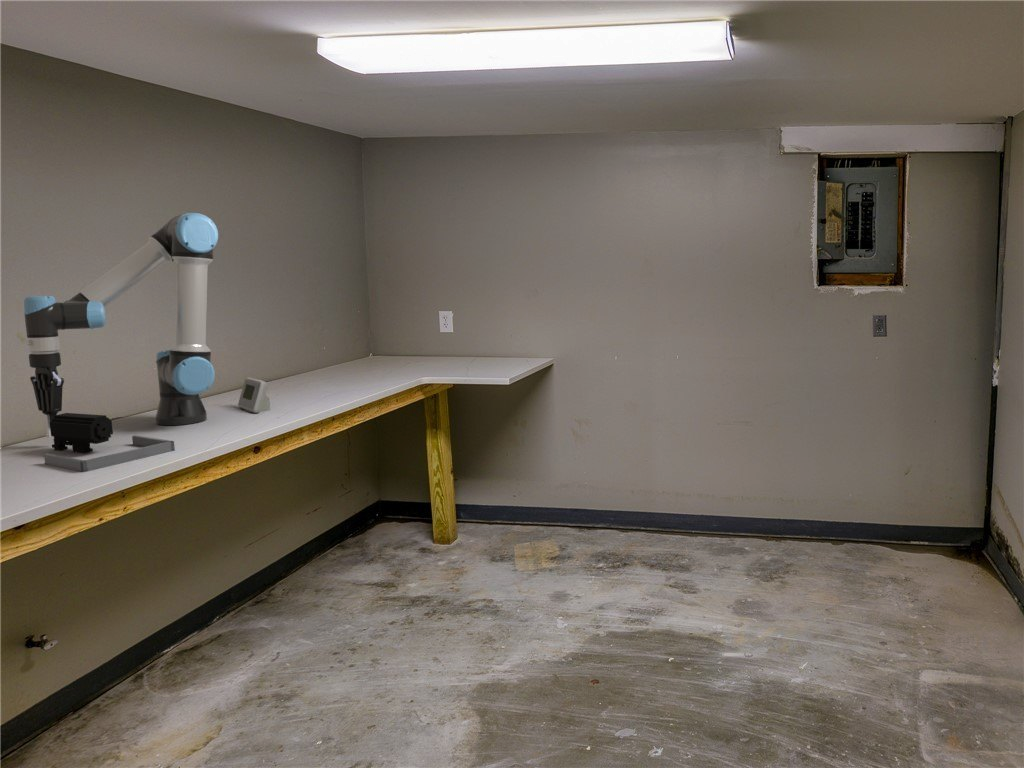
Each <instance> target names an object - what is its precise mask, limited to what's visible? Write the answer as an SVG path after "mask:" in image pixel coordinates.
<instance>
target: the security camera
mask: <svg viewBox="0 0 1024 768" xmlns="http://www.w3.org/2000/svg"><path fill="white" fill-rule="evenodd" d="M112 421H113V420H112V419H110V417H107V415H105V414H104V415H103V414H92V413H90V414H89V413H72V412H65V413H60V414H59V413H58V414H57V415H54V418H53V419H52V422H50V431H51V436H54V437H53V443H52V444H51V447H52V449H54V451H55V452H62V451H65V450H68V448H69V446H71V447H72V453H77V454H78V453H80V454H88V453H91V452H94V451H93V450H94V449H93V448H92V447H91V444H102V443H105V442H109V440H110V438H112V435H113V434H114V431H113V422H112Z"/></svg>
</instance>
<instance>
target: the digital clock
mask: <svg viewBox="0 0 1024 768" xmlns="http://www.w3.org/2000/svg"><path fill="white" fill-rule="evenodd" d="M268 387H269V384H268V383H267V382H266V381H264V380H262V379H258V378H256V377H255V378H254V377H249V376H248V377H246V378H245V379H244V382H243V384H242V388H241V391H240V396H239V399H238V402H237V403H238V404H237V405H238V407H239V408H240V409H242V410H243V411H246V412H250V413H254V414H259V413H260V412H268V411H271V400H270V397H269V396H267V395H266V393H267V390H268Z"/></svg>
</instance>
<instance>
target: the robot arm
mask: <svg viewBox="0 0 1024 768" xmlns="http://www.w3.org/2000/svg"><path fill="white" fill-rule="evenodd" d="M218 239H219V231H218V228H217V226H216V224H215V222H214V221H213V220H212V219H211V218H210V217H209V216H207V215H205V214H202V213H197V212H187V213H184V214H181V215H176V216H174V217H172V218H171V219H170V220H169V221H167V222H166V223H165V224H164V225H163V226H162V227H161V228H159V229H158V230H157V231H156V232H154V233H153V234H152V235H150V236H149V237H148V242H147V243H146V244H144V245H143V246H142V247H140V248H139V249H138V250H136V251H135V252H133V253H131V255H129V256H127V257H126V258H125V259H123V260H122V261H121V262H120V263H118V264H116V266H114V267H113V268H111V269H110V270H109V271H107V272H106V273H105V274H103V275H102V276H100V277H99V278H97V279H96V280H95V281H93V282H91V283H90V284H89V285H88V286H86V287H85V288H84V289H82V290H81V291H79V292H78V293H77V294H75V295H74V296H72V297H71V298H69V299H68V300H64V301H63V302H57V301H56V298H55V296H54V295H31V296H26V297H25V298H24V299H23V310H24V311H23V315H24V322H25V330H26V331H25V332H26V340H27V341H26V345H27V349H28V352H29V355H28V361H29V367H30V368H32V369H33V368H34V375H33V376H30V379H29V380H30V382H31V384H32V388H33V391H34V396H35V400H36V405H37V409H38V411H39V412H41V413H42V414H43V418H44V419H43V420H44V427H45V428H44V429H45V437H46V438H48V439H49V438H54V436H51V431H50V422H52V419H53V418H54V415H58V414H59V412H62V410H63V408H62V407H63V385H64V383H65V379H64V378H63V377H59V372H58V369H57V367H60V366H61V365H62V361H61V360H62V359H61V352H60V348H61V347H60V337H59V331H60V330H61V331H62V330H84V329H91V330H93V329H99V328H103V327H104V326H105V325H106V310H105V308H106V307H107V306H109V305H110V304H111V303H113V302H114V301H115V300H117V299H118V298H119V297H121V296H122V295H124V294H125V293H127V292H128V291H129V290H131V289H132V288H133V287H135V286H136V285H137V284H138V283H140V282H141V281H143V280H144V279H145V278H146V277H148V276H149V275H151V274H152V273H153V272H155V271H156V270H157V269H159V268H160V267H162V265H164V264H166V263H169V264H170V263H173V262H175V264H176V294H175V296H176V297H175V337H174V338H175V340H174V344H173V345H172V346H171V348H169V349H167V350H161V351H158V352H157V353H156V360H155V363H156V369H157V380H158V391H159V401H158V406H157V410H156V414H155V423H156V424H157V425H159V426H160V425H161V426H181V425H182V426H183V425H184V426H185V425H191V424H196V423H201V422H203V421H206V420H207V419H208V418H207V416H208V415H207V411H206V408H205V406H204V404H203V401H202V399H201V396H200V394H201V395H202V393H204V392H207V390H209V389H210V388H211V387H212V385H213V383H214V380H215V377H216V376H215V375H216V374H215V373H216V372H215V368H214V366H213V364H212V363H211V358H212V357H211V356H212V355H211V354H212V350H211V349H210V348H209V347H208V346H207V312H208V310H207V306H208V305H207V304H208V302H207V300H208V270H209V269H208V266H209V265H210V264H211V263H212V262H213V261H214V248H215V247H216V245H217V244H218ZM58 351H59V352H58Z"/></svg>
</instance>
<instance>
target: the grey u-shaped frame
mask: <svg viewBox="0 0 1024 768" xmlns="http://www.w3.org/2000/svg"><path fill="white" fill-rule="evenodd" d="M131 438H132V445H133V446H139V447H138V448H134V449H129V450H126V451H121V452H116V453H112V454H108V455H103V456H99V457H95V458H94V457H93V458H90V459H85V460H83V459H79V458H72V457H68V456H63V455H58V454H53V453H44V454H43V458H44V464H45V465H48V466H53V467H57V468H64V469H69V470H73V471H77V472H83V473H85V472H89V471H94V470H97V469H102V468H106V467H110V466H114V465H118V464H122V463H127V462H131V461H135V460H139V459H143V458H148V457H151V456H157V455H161V454H164V453H169V452H173V451H174V452H175V450H176V449H175V446H176V445H175V441H174V440H168V439H163V438H155V437H149V436H143V435H137V434H135V435H132V436H131Z"/></svg>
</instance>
